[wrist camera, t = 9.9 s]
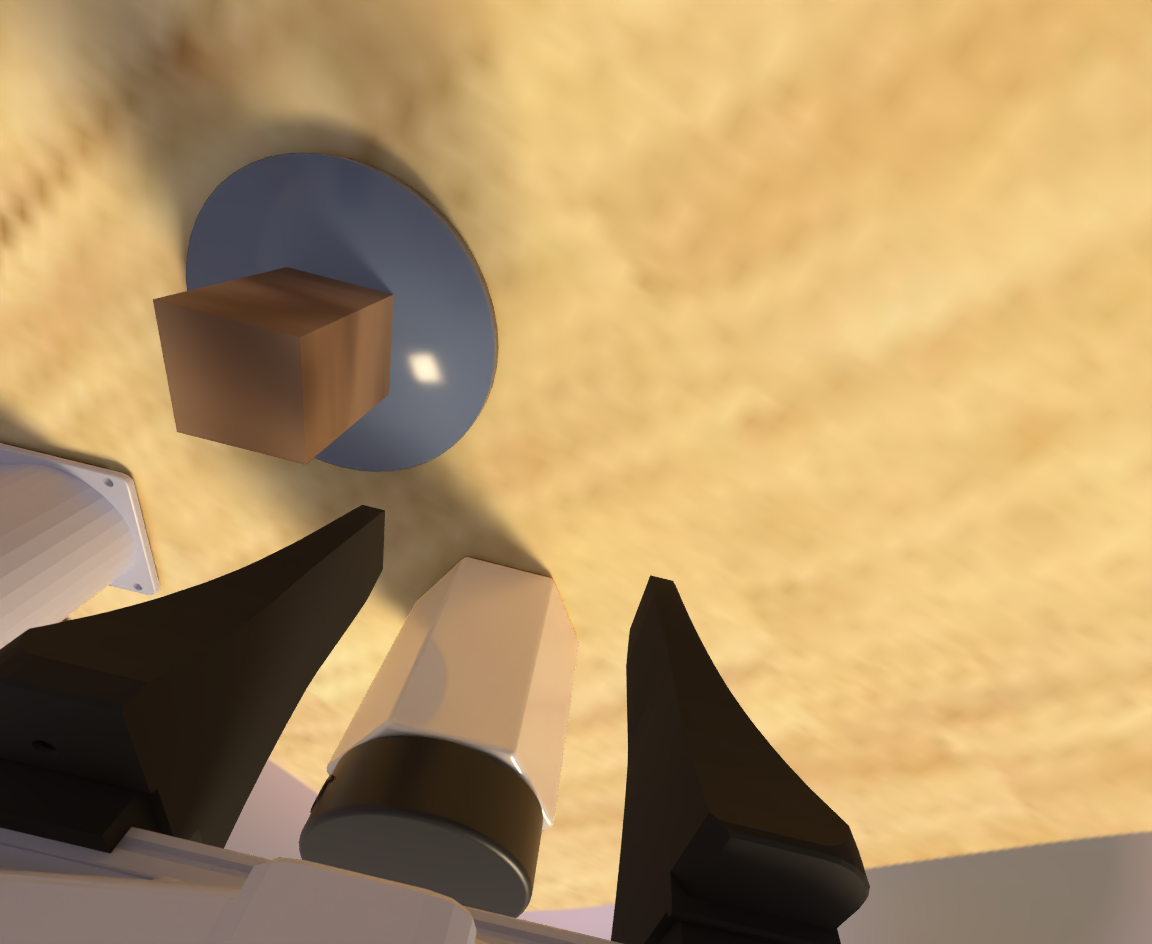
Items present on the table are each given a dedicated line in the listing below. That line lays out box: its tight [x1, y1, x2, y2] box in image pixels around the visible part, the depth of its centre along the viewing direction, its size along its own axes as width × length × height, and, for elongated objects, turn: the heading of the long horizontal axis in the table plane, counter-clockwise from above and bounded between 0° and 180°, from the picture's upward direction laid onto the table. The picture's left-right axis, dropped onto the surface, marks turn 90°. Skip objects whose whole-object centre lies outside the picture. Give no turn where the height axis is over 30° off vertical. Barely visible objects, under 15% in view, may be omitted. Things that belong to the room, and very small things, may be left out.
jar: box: [299, 557, 579, 918], centre depth 23 cm, size 9×8×12 cm
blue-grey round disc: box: [186, 153, 498, 472], centre depth 21 cm, size 12×12×1 cm
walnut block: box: [153, 267, 394, 464], centre depth 17 cm, size 4×4×6 cm
